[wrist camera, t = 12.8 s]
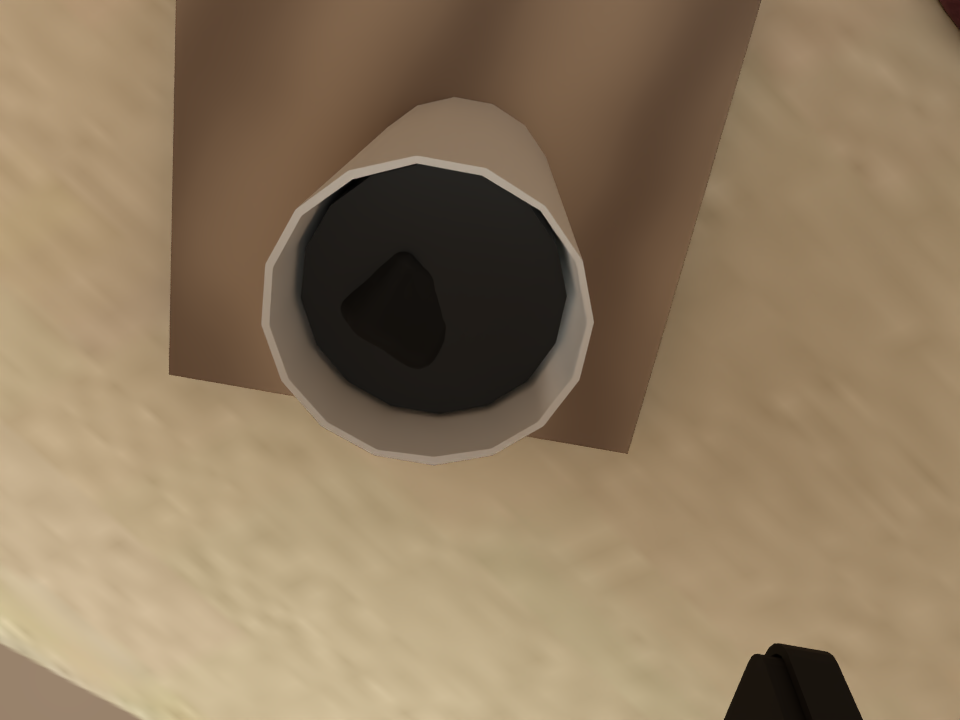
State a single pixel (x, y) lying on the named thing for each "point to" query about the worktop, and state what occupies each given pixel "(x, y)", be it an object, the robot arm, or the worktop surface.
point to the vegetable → (952, 10)
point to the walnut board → (432, 77)
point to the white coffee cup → (432, 290)
